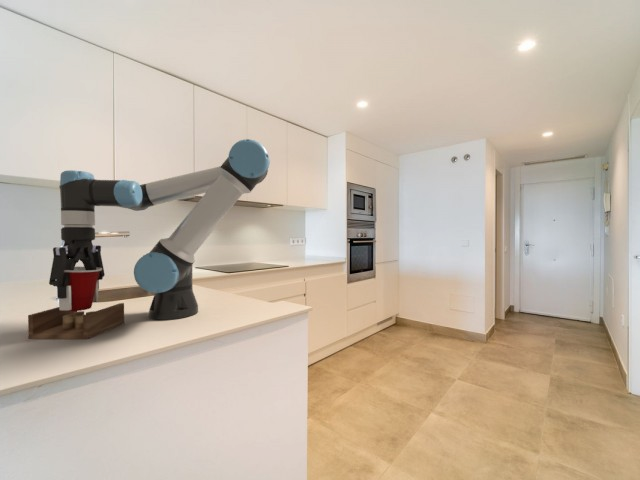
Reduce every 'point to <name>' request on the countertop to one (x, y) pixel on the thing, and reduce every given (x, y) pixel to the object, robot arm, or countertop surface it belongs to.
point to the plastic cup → (82, 287)
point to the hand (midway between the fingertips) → (80, 305)
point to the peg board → (90, 323)
